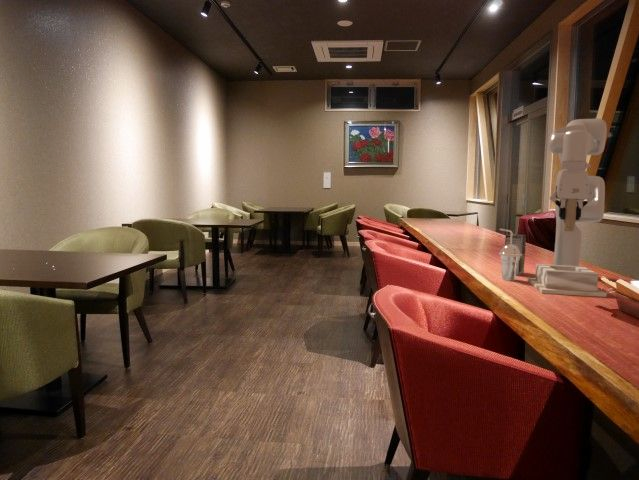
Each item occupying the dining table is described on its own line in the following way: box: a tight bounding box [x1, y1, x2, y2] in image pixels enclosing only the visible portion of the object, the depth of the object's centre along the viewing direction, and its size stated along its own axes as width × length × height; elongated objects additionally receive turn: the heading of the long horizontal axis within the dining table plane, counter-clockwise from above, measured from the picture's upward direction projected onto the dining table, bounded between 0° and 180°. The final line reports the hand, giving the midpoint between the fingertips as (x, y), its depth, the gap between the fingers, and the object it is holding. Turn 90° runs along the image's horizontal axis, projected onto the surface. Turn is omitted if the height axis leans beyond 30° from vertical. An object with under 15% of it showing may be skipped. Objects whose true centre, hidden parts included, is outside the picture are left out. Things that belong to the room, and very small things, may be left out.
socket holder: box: [527, 263, 607, 298], centre depth 173 cm, size 22×20×7 cm
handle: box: [563, 188, 579, 231], centre depth 171 cm, size 5×6×15 cm
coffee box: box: [504, 233, 527, 276], centre depth 202 cm, size 9×6×16 cm
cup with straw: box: [498, 228, 522, 282], centre depth 188 cm, size 8×9×20 cm
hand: (569, 219), depth 171 cm, fingers closed on handle, 4 cm apart
